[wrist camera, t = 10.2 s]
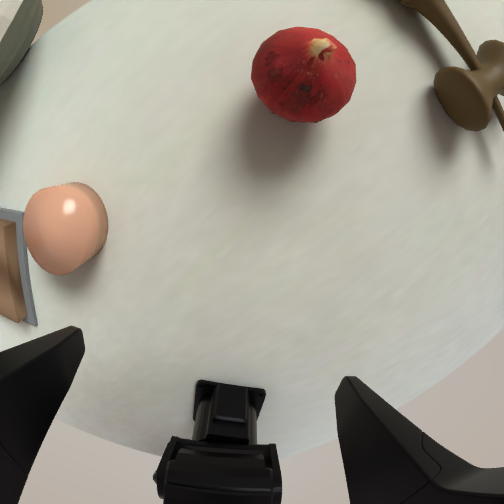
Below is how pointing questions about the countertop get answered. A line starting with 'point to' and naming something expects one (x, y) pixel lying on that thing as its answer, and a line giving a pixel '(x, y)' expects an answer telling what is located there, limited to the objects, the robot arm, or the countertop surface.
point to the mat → (22, 261)
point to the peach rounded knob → (65, 226)
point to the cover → (10, 274)
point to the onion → (303, 74)
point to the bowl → (17, 31)
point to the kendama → (466, 71)
